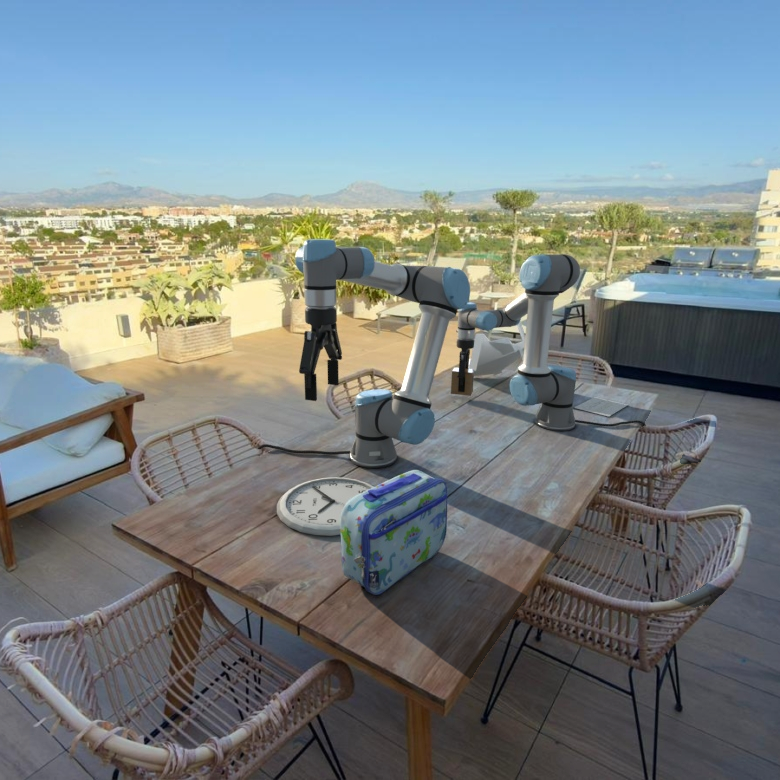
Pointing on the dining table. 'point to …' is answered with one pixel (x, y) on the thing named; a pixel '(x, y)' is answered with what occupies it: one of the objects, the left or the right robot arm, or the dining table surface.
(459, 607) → the dining table surface
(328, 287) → the left robot arm
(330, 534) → the wall clock
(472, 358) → the white plastic object
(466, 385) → the wooden block
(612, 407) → the invitation card
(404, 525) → the lunch box
